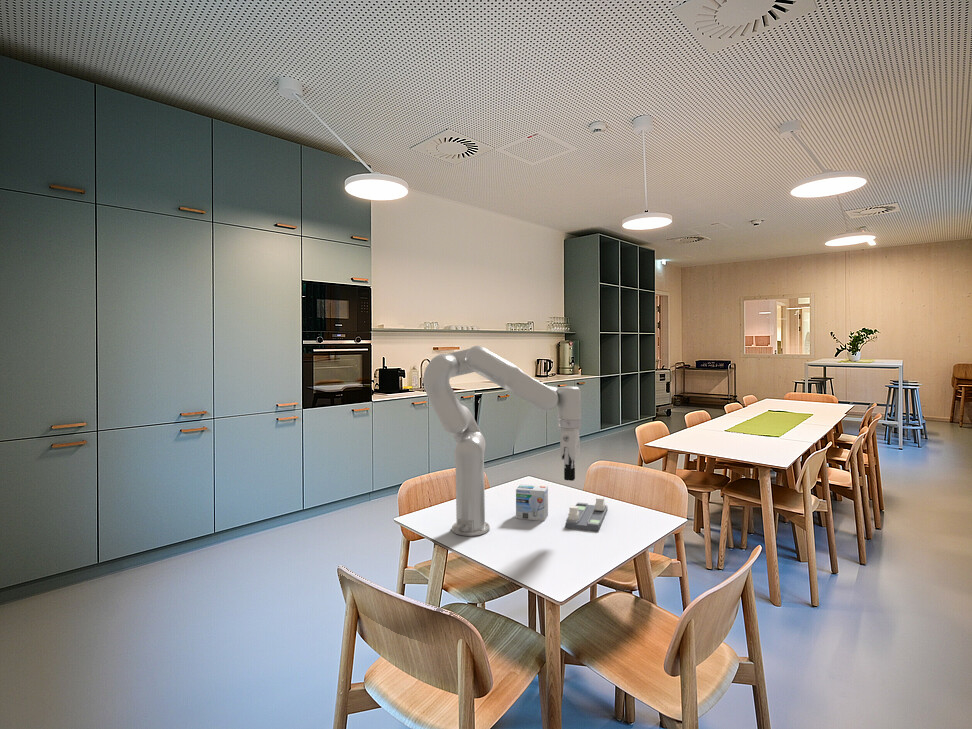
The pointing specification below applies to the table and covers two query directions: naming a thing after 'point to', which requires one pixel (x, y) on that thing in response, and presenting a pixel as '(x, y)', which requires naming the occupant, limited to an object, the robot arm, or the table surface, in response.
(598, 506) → the tab
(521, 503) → the light bulb box
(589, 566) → the table surface
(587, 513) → the switch board
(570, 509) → the tab
